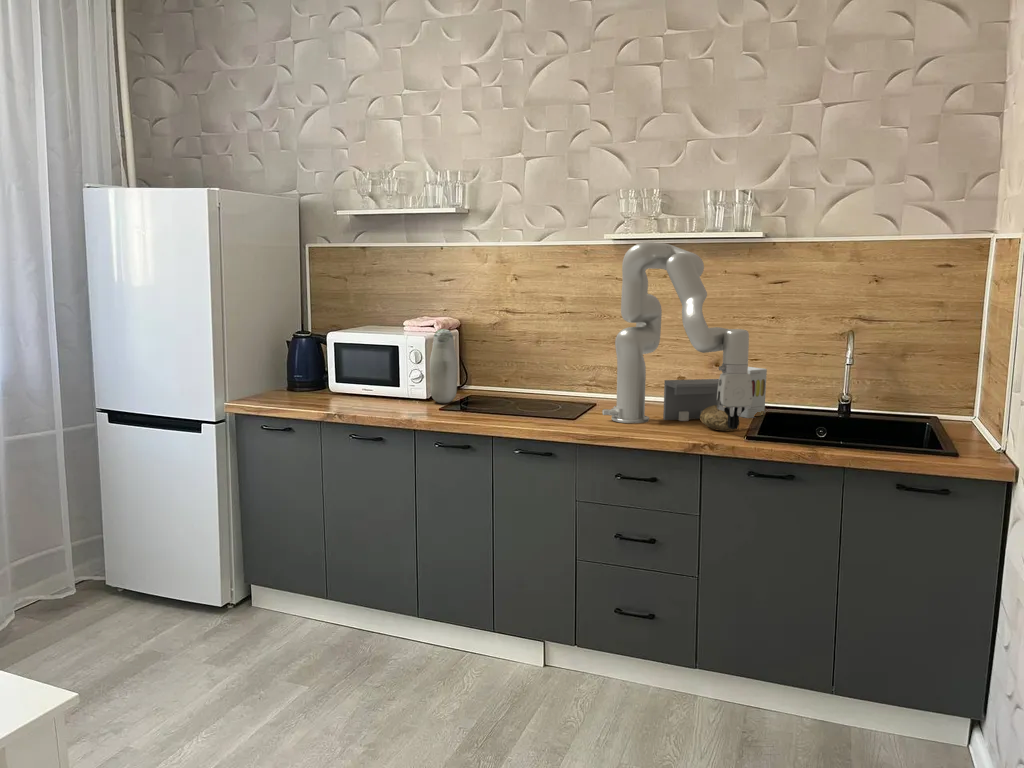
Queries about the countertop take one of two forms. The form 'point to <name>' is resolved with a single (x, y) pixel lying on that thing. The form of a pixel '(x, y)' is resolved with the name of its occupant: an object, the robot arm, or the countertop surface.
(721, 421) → the rough tan stone
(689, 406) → the grey footed stand
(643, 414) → the robot arm
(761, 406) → the supplement box
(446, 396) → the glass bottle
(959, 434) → the countertop surface
